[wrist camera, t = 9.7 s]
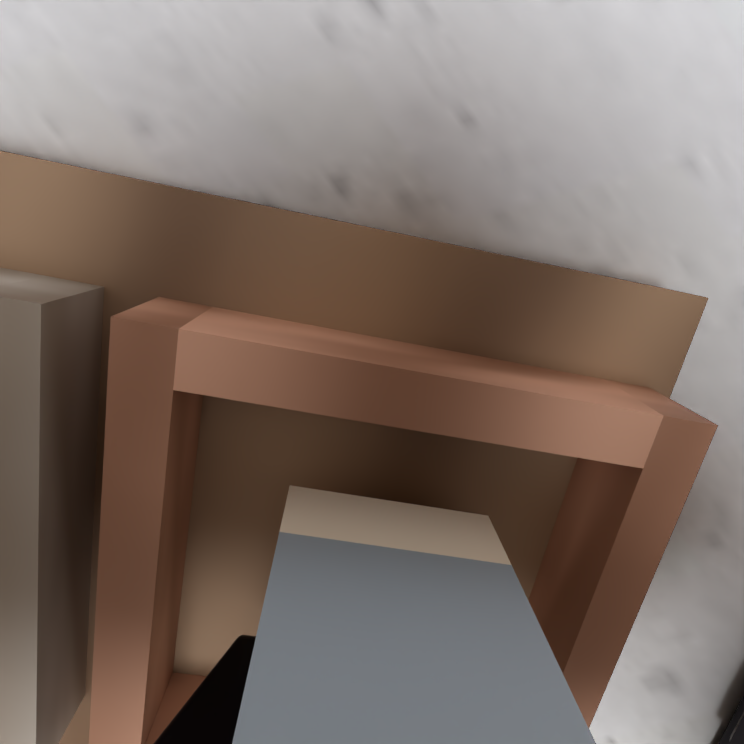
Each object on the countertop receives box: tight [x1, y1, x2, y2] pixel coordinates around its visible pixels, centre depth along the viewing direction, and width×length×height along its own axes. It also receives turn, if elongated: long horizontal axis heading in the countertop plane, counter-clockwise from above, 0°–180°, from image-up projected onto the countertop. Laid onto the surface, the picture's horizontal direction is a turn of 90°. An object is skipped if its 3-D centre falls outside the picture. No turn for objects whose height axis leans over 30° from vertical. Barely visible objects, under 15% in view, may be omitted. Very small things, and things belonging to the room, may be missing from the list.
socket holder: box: [0, 151, 718, 744], centre depth 10 cm, size 22×14×4 cm, turn 79°
